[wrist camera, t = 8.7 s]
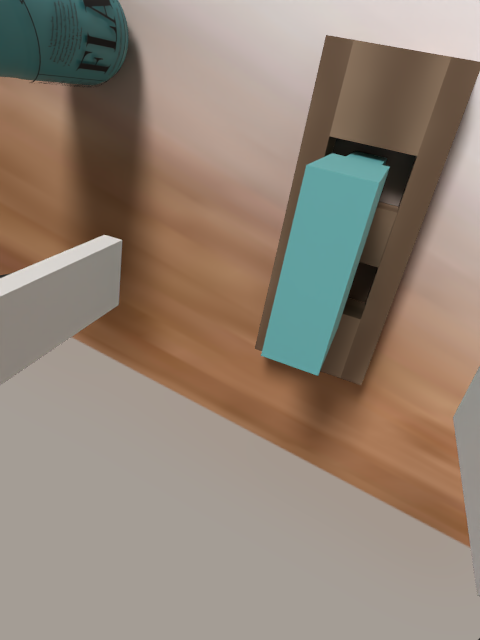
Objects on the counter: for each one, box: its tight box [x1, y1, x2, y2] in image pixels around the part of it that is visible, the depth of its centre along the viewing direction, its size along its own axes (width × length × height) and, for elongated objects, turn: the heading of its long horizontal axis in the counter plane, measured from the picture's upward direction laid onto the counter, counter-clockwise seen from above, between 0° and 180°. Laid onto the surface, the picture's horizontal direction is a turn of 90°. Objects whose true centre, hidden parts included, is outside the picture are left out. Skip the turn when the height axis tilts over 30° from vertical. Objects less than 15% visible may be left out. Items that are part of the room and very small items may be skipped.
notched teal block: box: [261, 151, 390, 376], centre depth 26 cm, size 3×9×12 cm, turn 168°
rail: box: [255, 35, 480, 385], centre depth 29 cm, size 8×20×3 cm, turn 168°
